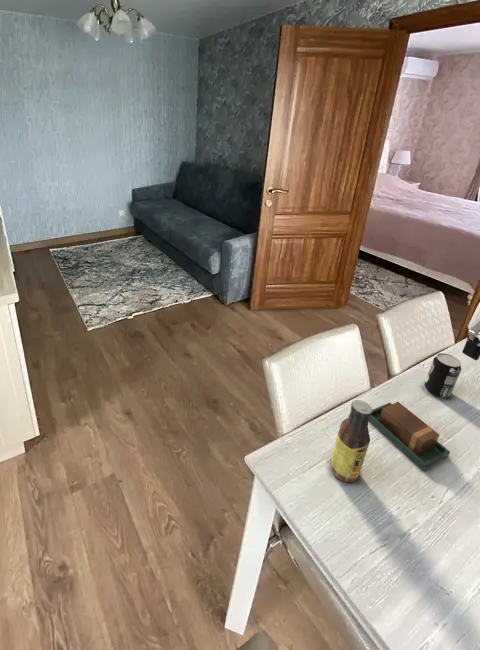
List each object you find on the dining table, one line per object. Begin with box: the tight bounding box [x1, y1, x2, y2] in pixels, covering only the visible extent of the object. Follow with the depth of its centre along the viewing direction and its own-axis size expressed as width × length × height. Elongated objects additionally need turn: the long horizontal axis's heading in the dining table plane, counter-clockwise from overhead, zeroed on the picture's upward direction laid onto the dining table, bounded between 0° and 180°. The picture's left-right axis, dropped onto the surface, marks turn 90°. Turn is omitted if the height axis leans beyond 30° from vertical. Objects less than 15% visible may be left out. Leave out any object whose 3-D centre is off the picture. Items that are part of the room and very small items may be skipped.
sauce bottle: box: [330, 399, 373, 483], centre depth 78 cm, size 6×6×20 cm
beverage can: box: [424, 352, 462, 399], centre depth 102 cm, size 7×7×12 cm
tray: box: [368, 402, 451, 472], centre depth 90 cm, size 16×9×2 cm, turn 22°
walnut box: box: [379, 401, 440, 457], centre depth 89 cm, size 11×6×5 cm, turn 22°
